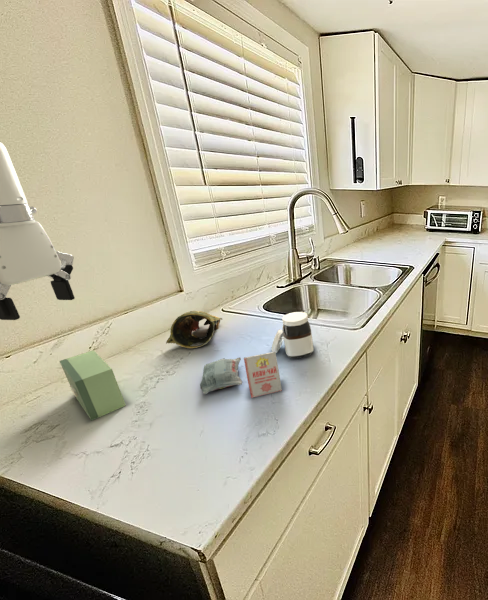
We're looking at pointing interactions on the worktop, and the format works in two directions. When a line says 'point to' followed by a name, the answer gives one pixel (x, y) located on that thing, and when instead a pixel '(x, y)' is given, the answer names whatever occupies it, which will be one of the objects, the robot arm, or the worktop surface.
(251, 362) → the cream red carton
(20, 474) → the worktop surface
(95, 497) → the worktop surface
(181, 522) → the worktop surface
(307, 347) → the spread jar
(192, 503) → the worktop surface
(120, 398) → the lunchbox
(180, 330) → the pot
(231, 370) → the packaged food
